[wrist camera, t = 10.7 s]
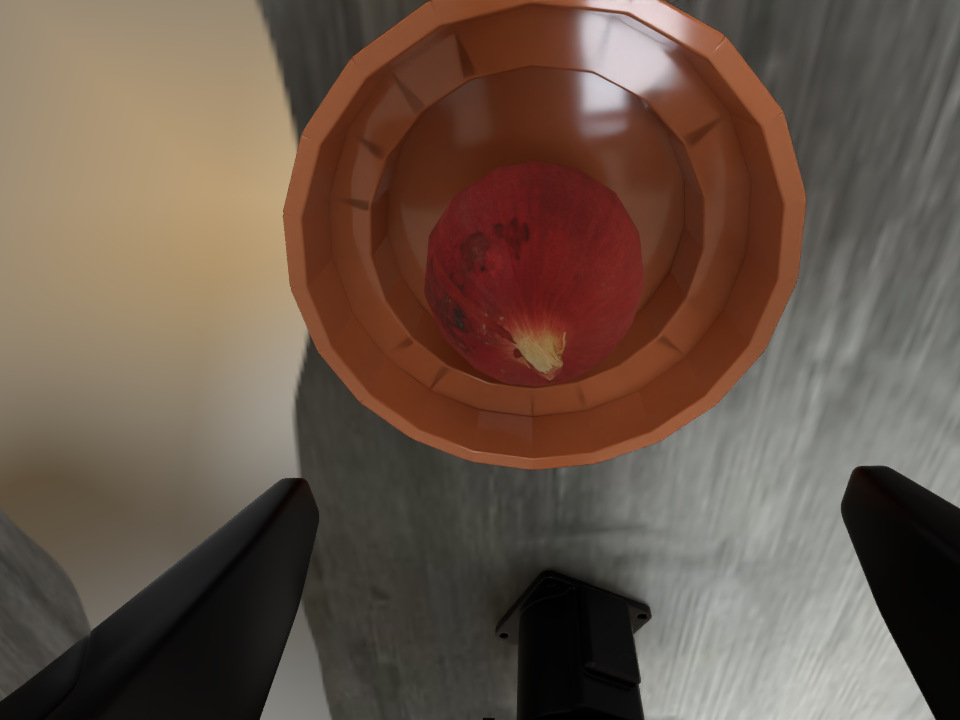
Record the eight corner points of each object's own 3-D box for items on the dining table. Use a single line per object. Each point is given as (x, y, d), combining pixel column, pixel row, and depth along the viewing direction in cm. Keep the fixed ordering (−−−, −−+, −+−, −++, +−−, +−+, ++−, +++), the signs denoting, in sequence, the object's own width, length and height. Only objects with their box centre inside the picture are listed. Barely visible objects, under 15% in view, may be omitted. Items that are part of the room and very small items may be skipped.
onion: (438, 296, 19) (386, 444, 12) (453, 125, 16) (395, 197, 9) (598, 320, 19) (634, 481, 12) (644, 152, 16) (726, 246, 9)
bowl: (599, 425, 22) (616, 518, 18) (303, 302, 20) (243, 374, 16) (829, 120, 16) (939, 156, 11) (420, -108, 14) (370, -167, 9)
